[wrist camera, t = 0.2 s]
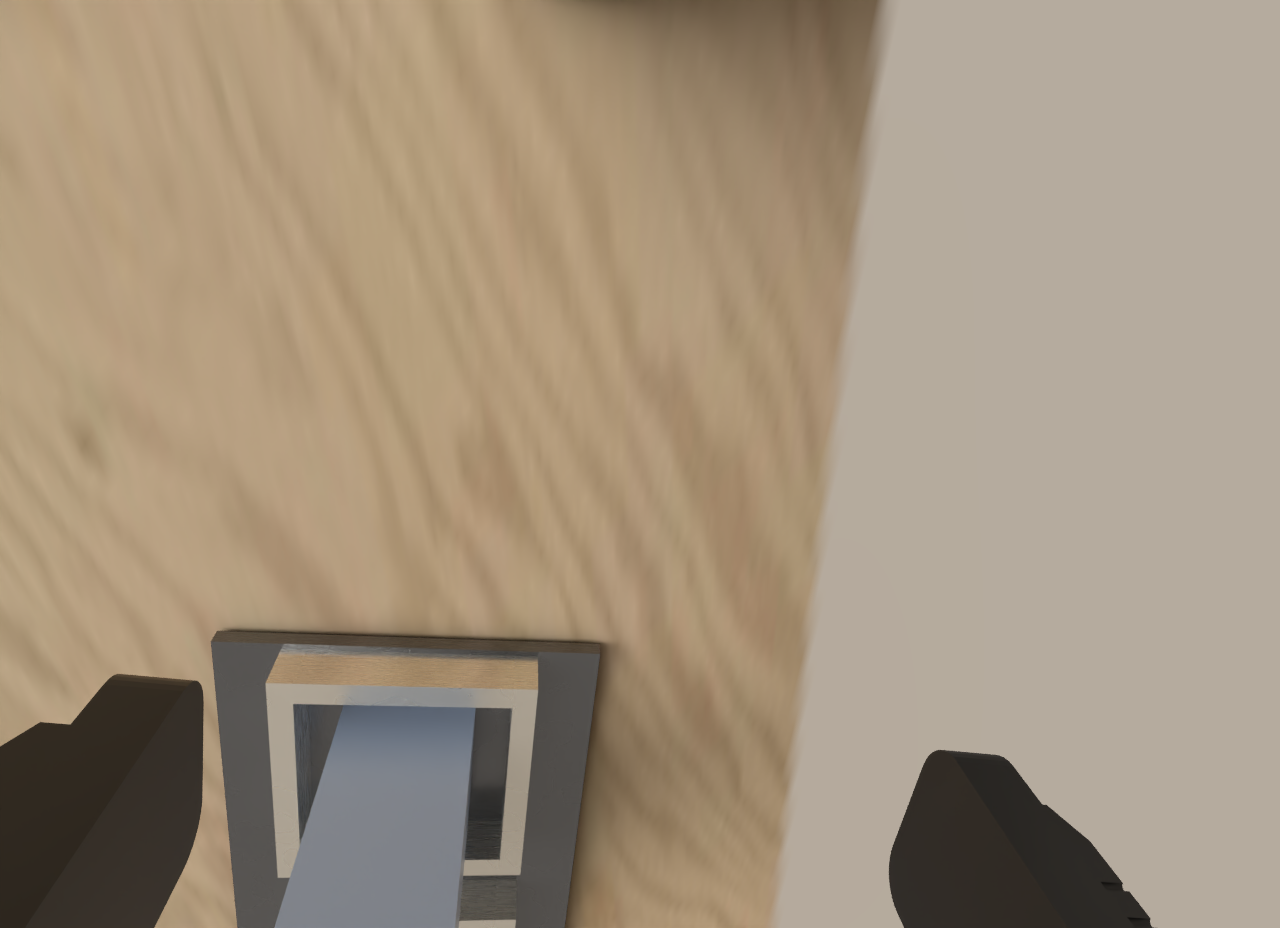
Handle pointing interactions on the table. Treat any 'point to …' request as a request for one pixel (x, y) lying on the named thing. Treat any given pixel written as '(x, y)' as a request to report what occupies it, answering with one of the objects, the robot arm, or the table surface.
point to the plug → (387, 823)
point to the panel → (426, 677)
